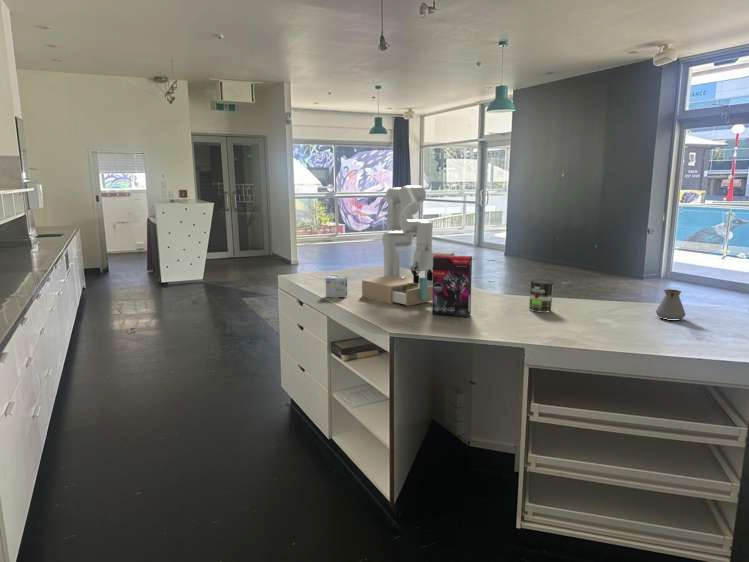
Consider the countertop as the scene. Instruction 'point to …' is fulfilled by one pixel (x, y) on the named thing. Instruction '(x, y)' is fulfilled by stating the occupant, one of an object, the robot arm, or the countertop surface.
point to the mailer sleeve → (383, 287)
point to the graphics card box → (452, 285)
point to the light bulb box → (336, 286)
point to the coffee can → (541, 295)
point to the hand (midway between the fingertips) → (422, 281)
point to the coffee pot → (671, 306)
